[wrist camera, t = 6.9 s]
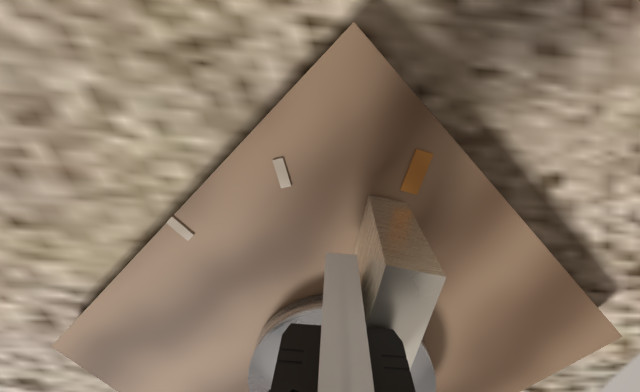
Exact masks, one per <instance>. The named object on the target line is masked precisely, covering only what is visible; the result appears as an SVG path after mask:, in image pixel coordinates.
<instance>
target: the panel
mask: <svg viewBox="0 0 640 392" xmlns="http://www.w3.org/2000/svg"><path fill="white" fill-rule="evenodd" d="M369 195H372V196H377V197H382V198H387V199H392V200H397V201H402V202H407V204H408V206H409V208H410V210H411V212H412V214H413V216H414V217H415V219H416V221H417V223H418V225H419V227H420V229H421V231H422V232H423V234H424V236H425V238H426V240H427V242H428V244H429V246H430V247H431V249H432V251H433V253H434V255H435V257H436V259H437V261H438V262H439V264H440V266H441V268H442V270H443V272H444V274H445V276H446V279H445V282H444V284H443V287H442V289H441V292H440V295H439V297H438V300H437V302H436V305H435V307H434V310H433V312H432V315H431V318H430V320H429V323H428V325H427V328H426V330H425V333H424V336H423V339H424V341H425V344H426V346H427V349H428V353H429V356H430V359H431V362H432V365H433V368H434V372H435V377H436V392H520V391H522V390H524V389H526V388H528V387H529V386H531V385H533V384H535V383H537V382H539V381H541V380H542V379H544V378H546V377H548V376H550V375H552V374H554V373H555V372H557V371H559V370H561V369H563V368H565V367H567V366H569V365H570V364H572V363H574V362H576V361H578V360H580V359H582V358H583V357H585V356H587V355H589V354H591V353H593V352H595V351H597V350H598V349H600V348H602V347H604V346H606V345H608V344H610V343H611V342H613V341H615V340H617V339H619V338H621V337H622V336H621V334H620V333H619V332H618V331H617V330H616V329H615V327H614V326H613V325H612V324H611V323H610V322H609V320H608V319H607V318H606V317H605V316H604V315H603V313H602V312H601V311H600V310H599V309H598V307H597V306H596V305H595V304H594V303H593V302H592V300H591V299H590V298H589V297H588V296H587V295H586V293H585V292H584V291H583V290H582V289H581V288H580V286H579V285H578V284H577V283H576V282H575V281H574V279H573V278H572V277H571V276H570V275H569V273H568V272H567V271H566V270H565V269H564V268H563V266H562V265H561V264H560V263H559V262H558V261H557V259H556V258H555V257H554V256H553V255H552V254H551V252H550V251H549V250H548V249H547V248H546V247H545V245H544V244H543V243H542V242H541V241H540V239H539V238H538V237H537V236H536V235H535V234H534V232H533V231H532V230H531V229H530V228H529V227H528V225H527V224H526V223H525V222H524V221H523V220H522V218H521V217H520V216H519V215H518V214H517V213H516V211H515V210H514V209H513V208H512V207H511V205H510V204H509V203H508V202H507V201H506V200H505V198H504V197H503V196H502V195H501V194H500V193H499V191H498V190H497V189H496V188H495V187H494V186H493V184H492V183H491V182H490V181H489V180H488V179H487V177H486V176H485V175H484V174H483V173H482V171H481V170H480V169H479V168H478V167H477V166H476V164H475V163H474V162H473V161H472V160H471V159H470V157H469V156H468V155H467V154H466V153H465V152H464V150H463V149H462V148H461V147H460V146H459V145H458V143H457V142H456V141H455V140H454V139H453V137H452V136H451V135H450V134H449V133H448V132H447V130H446V129H445V128H444V127H443V126H442V125H441V123H440V122H439V121H438V120H437V119H436V118H435V116H434V115H433V114H432V113H431V112H430V111H429V109H428V108H427V107H426V106H425V105H424V104H423V102H422V101H421V100H420V99H419V98H418V96H417V95H416V94H415V93H414V92H413V91H412V89H411V88H410V87H409V86H408V85H407V84H406V82H405V81H404V80H403V79H402V78H401V77H400V75H399V74H398V73H397V72H396V71H395V70H394V68H393V67H392V66H391V65H390V64H389V62H388V61H387V60H386V59H385V58H384V57H383V55H382V54H381V53H380V52H379V51H378V50H377V48H376V47H375V46H374V45H373V44H372V43H371V41H370V40H369V39H368V38H367V37H366V36H365V34H364V33H363V32H362V31H361V30H360V28H359V27H358V26H357V25H356V24H355V23H354V22H353V23H352V24H351V25H350V26H349V27H348V29H347V30H346V31H345V32H344V33H343V34H342V35H341V36H340V37H339V38H338V39H337V40H336V41H335V42H334V44H333V45H332V46H331V47H330V48H329V49H328V50H327V51H326V52H325V53H324V54H323V55H322V56H321V57H320V59H319V60H318V61H317V62H316V63H315V64H314V65H313V66H312V67H311V68H310V69H309V70H308V71H307V72H306V74H305V75H304V76H303V77H302V78H301V79H300V80H299V81H298V82H297V83H296V84H295V85H294V86H293V88H292V89H291V90H290V91H289V92H288V93H287V94H286V95H285V96H284V97H283V98H282V99H281V100H280V101H279V103H278V104H277V105H276V106H275V107H274V108H273V109H272V110H271V111H270V112H269V113H268V114H267V115H266V116H265V118H264V119H263V120H262V121H261V122H260V123H259V124H258V125H257V126H256V127H255V128H254V129H253V130H252V132H251V133H250V134H249V135H248V136H247V137H246V138H245V139H244V140H243V141H242V142H241V143H240V144H239V145H238V147H237V148H236V149H235V150H234V151H233V152H232V153H231V154H230V155H229V156H228V157H227V158H226V159H225V160H224V162H223V163H222V164H221V165H220V166H219V167H218V168H217V169H216V170H215V171H214V172H213V173H212V174H211V175H210V177H209V178H208V179H207V180H206V181H205V182H204V183H203V184H202V185H201V186H200V187H199V188H198V189H197V191H196V192H195V193H194V194H193V195H192V196H191V197H190V198H189V199H188V200H187V201H186V202H185V203H184V204H183V206H182V207H181V208H180V209H179V210H178V211H177V212H176V213H175V214H174V215H173V216H172V217H171V218H170V219H169V220H168V221H167V222H166V224H165V225H164V226H163V227H162V228H161V229H160V230H159V231H158V232H157V233H156V234H155V236H154V237H153V238H152V239H151V240H150V241H149V242H148V243H147V244H146V245H145V246H144V247H143V248H142V250H141V251H140V252H139V253H138V254H137V255H136V256H135V257H134V258H133V259H132V260H131V261H130V262H129V263H128V265H127V266H126V267H125V268H124V269H123V270H122V271H121V272H120V273H119V274H118V275H117V276H116V277H115V278H114V280H113V281H112V282H111V283H110V284H109V285H108V286H107V287H106V288H105V289H104V290H103V291H102V292H101V293H100V295H99V296H98V297H97V298H96V299H95V300H94V301H93V302H92V303H91V304H90V305H89V306H88V307H87V309H86V310H85V311H84V312H83V313H82V314H81V315H80V316H79V317H78V318H77V319H76V320H75V321H74V322H73V324H72V325H71V326H70V327H69V328H68V329H67V330H66V331H65V332H64V333H63V334H62V335H61V336H60V337H59V339H58V340H57V341H56V342H55V343H54V344H53V345H52V346H51V347H53V348H54V349H56V350H57V351H59V352H60V353H62V354H63V355H65V356H66V357H68V358H69V359H71V360H72V361H74V362H75V363H76V364H78V365H79V366H81V367H82V368H84V369H85V370H87V371H88V372H90V373H91V374H93V375H94V376H96V377H97V378H99V379H100V380H102V381H103V382H105V383H106V384H108V385H109V386H111V387H112V388H114V389H115V390H117V391H118V392H250V390H249V385H248V370H249V366H250V362H251V359H252V356H253V353H254V349H255V346H256V343H257V340H258V338H259V335H260V333H261V331H262V329H263V328H264V326H265V325H266V323H267V322H268V321H269V320H270V319H271V318H272V317H273V316H274V315H275V314H276V313H277V312H279V311H280V310H281V309H283V308H284V307H286V306H288V305H289V304H291V303H293V302H296V301H298V300H300V299H303V298H306V297H309V296H313V295H319V294H323V288H324V272H325V255H326V253H338V254H353V253H354V249H355V245H356V242H357V238H358V234H359V230H360V226H361V222H362V219H363V215H364V211H365V207H366V203H367V199H368V196H369Z"/></svg>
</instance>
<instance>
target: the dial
mask: <svg viewBox="0 0 640 392" xmlns="http://www.w3.org/2000/svg"><path fill="white" fill-rule="evenodd" d="M353 255H357V259H358V267H359V275H360V283H361V290H362V298H363V306H364V314H365V322H366V328H380V329H393V330H394V331H395V333H396V334H397V335H398V337H399V338H400V339H401V340H402V342H403V345H404V349H405V353H406V356H407V357H406V359H407V360H408V364H409V368H410V372H411V376H412V379H413V383H414V387H415V391H416V392H436V377H435V372H434V368H433V365H432V362H431V359H430V356H429V353H428V349H427V346H426V344H425V341H424V339H423V336H424V333H425V330H426V328H427V325H428V323H429V320H430V318H431V315H432V312H433V310H434V307H435V305H436V302H437V300H438V297H439V295H440V292H441V289H442V287H443V284H444V282H445V279H446V276H445V274H444V272H443V270H442V268H441V266H440V264H439V262H438V261H437V259H436V257H435V255H434V253H433V251H432V249H431V247H430V246H429V244H428V242H427V240H426V238H425V236H424V234H423V232H422V231H421V229H420V227H419V225H418V223H417V221H416V219H415V217H414V216H413V214H412V212H411V210H410V208H409V206H408V204H407V202H402V201H397V200H392V199H387V198H382V197H377V196H372V195H369V196H368V199H367V203H366V207H365V211H364V215H363V219H362V222H361V226H360V230H359V234H358V238H357V242H356V245H355V249H354V253H353ZM322 305H323V294H319V295H313V296H309V297H306V298H303V299H300V300H298V301H296V302H293V303H291V304H289V305H288V306H286V307H284V308H283V309H281V310H280V311H279V312H277V313H276V314H275V315H274V316H273V317H272V318H271V319H270V320H269V321H268V322H267V323H266V325H265V326H264V328H263V329H262V331H261V333H260V335H259V338H258V340H257V343H256V346H255V349H254V353H253V356H252V359H251V362H250V366H249V370H248V385H249V390H250V392H268V391H269V390H270V389H271V385H272V380H273V375H274V371H275V366H276V362H277V356H278V352H279V347H280V342H281V337H282V334H283V333H284V331H285V330H286V329H287V328H288V326H289V325H290V324H291V323H295V324H309V325H321V322H322Z"/></svg>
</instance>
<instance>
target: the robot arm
mask: <svg viewBox="0 0 640 392" xmlns="http://www.w3.org/2000/svg"><path fill="white" fill-rule="evenodd" d="M406 357H407V356H406V353H405V349H404V345H403V342H402V340H401V339H400V338H399V337H398V335H397V334H396V333H395V331H394V330H393V329H380V328H366V322H365V314H364V306H363V298H362V290H361V283H360V275H359V267H358V259H357V255H353V254H338V253H326V255H325V272H324V288H323V305H322V322H321V325H309V324H295V323H291V324H290V325H289V326H288V328H287V329H286V330H285V331H284V333H283V334H282V337H281V342H280V347H279V352H278V356H277V362H276V366H275V371H274V375H273V380H272V385H271V389H270V390H269V391H268V392H416V391H415V387H414V383H413V379H412V376H411V372H410V368H409V364H408V360H407V359H406Z"/></svg>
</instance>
